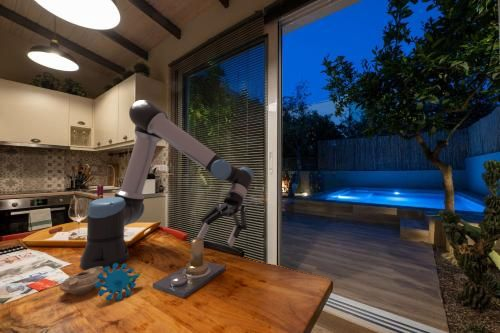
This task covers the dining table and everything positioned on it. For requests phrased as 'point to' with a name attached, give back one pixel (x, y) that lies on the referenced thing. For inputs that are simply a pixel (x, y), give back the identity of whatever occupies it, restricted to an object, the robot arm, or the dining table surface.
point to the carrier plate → (187, 280)
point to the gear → (116, 281)
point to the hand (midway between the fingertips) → (213, 242)
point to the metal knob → (196, 259)
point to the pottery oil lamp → (82, 281)
